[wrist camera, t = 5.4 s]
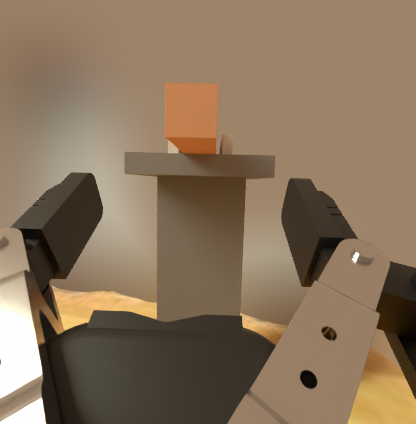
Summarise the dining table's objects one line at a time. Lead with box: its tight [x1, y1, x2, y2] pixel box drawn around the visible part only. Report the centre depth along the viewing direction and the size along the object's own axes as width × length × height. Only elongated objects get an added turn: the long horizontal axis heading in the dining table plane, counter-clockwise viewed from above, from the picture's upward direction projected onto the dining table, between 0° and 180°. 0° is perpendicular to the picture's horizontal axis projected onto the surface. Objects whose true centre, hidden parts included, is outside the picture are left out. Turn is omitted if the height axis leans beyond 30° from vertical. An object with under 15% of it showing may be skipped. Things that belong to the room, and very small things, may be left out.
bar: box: [165, 83, 218, 154], centre depth 26 cm, size 22×3×3 cm, turn 179°
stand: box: [125, 134, 275, 322], centre depth 34 cm, size 18×17×34 cm
